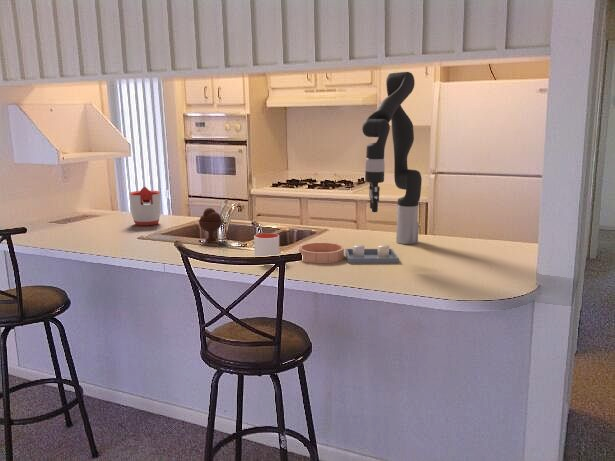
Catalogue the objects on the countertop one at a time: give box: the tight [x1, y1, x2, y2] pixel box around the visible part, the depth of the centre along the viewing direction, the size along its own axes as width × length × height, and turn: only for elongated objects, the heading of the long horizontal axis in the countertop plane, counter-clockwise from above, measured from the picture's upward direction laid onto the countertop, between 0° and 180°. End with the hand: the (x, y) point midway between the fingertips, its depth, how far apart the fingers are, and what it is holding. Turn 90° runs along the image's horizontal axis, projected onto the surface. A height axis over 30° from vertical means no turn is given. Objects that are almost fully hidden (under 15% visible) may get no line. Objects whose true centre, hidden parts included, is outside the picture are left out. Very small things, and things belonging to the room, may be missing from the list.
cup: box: [253, 232, 280, 257], centre depth 226 cm, size 10×10×10 cm
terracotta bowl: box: [298, 241, 345, 264], centre depth 228 cm, size 18×18×4 cm
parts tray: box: [344, 248, 399, 264], centre depth 227 cm, size 20×16×2 cm
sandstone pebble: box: [377, 244, 390, 258], centre depth 227 cm, size 5×5×5 cm
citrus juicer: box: [129, 186, 161, 227], centre depth 295 cm, size 16×17×20 cm
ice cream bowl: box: [198, 207, 223, 243], centre depth 259 cm, size 11×11×15 cm
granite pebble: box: [352, 244, 365, 258], centre depth 226 cm, size 5×5×5 cm
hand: (373, 210), depth 226 cm, fingers open, 8 cm apart
